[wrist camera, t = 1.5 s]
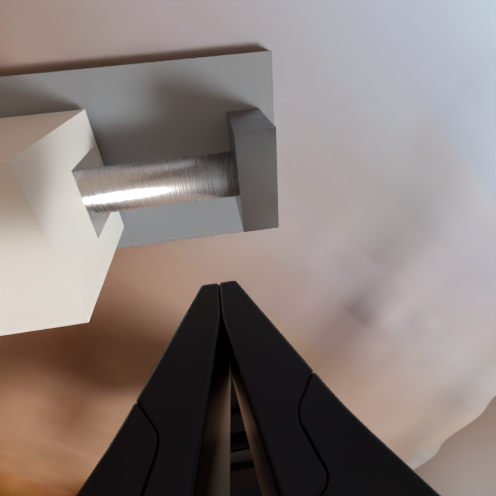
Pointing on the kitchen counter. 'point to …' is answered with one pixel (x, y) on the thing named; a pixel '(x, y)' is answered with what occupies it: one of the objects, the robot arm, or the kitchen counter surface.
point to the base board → (155, 124)
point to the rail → (197, 176)
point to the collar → (50, 223)
